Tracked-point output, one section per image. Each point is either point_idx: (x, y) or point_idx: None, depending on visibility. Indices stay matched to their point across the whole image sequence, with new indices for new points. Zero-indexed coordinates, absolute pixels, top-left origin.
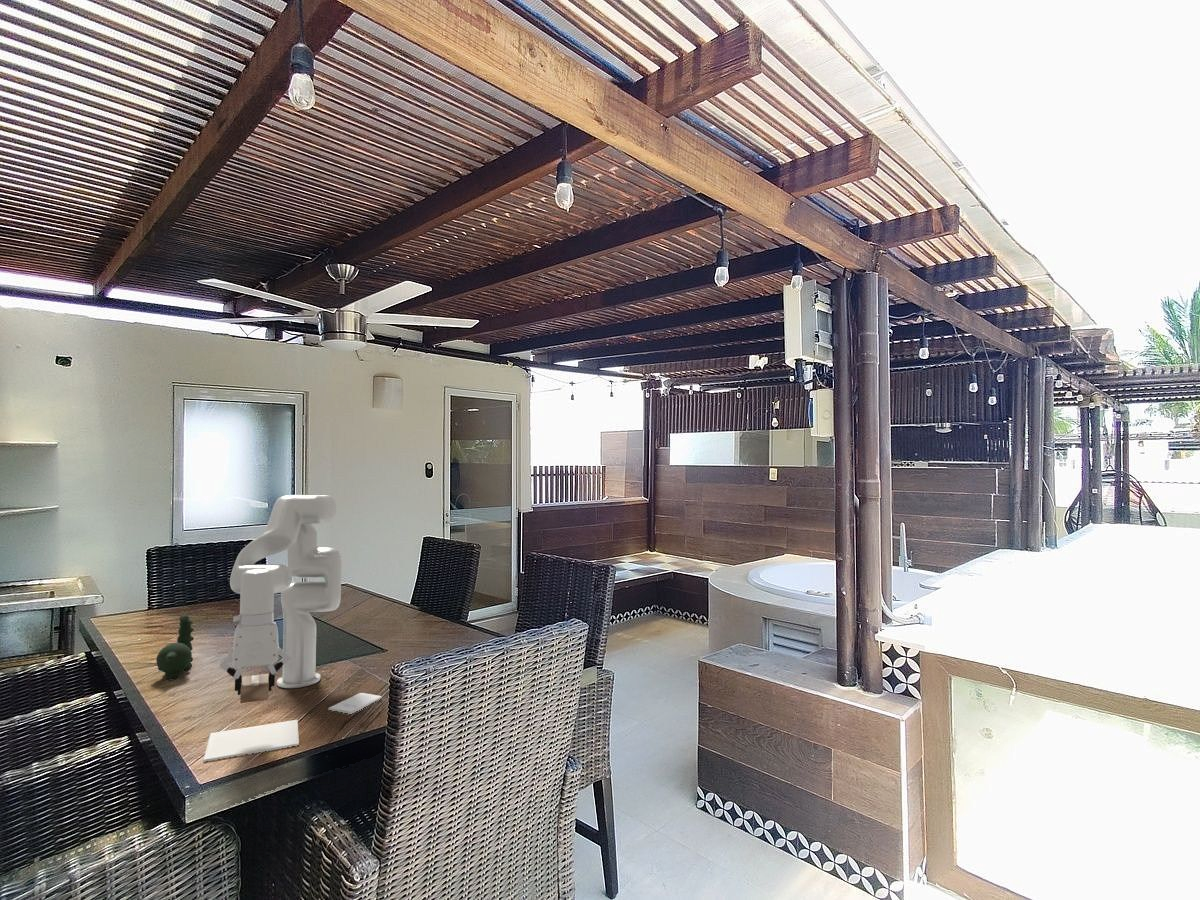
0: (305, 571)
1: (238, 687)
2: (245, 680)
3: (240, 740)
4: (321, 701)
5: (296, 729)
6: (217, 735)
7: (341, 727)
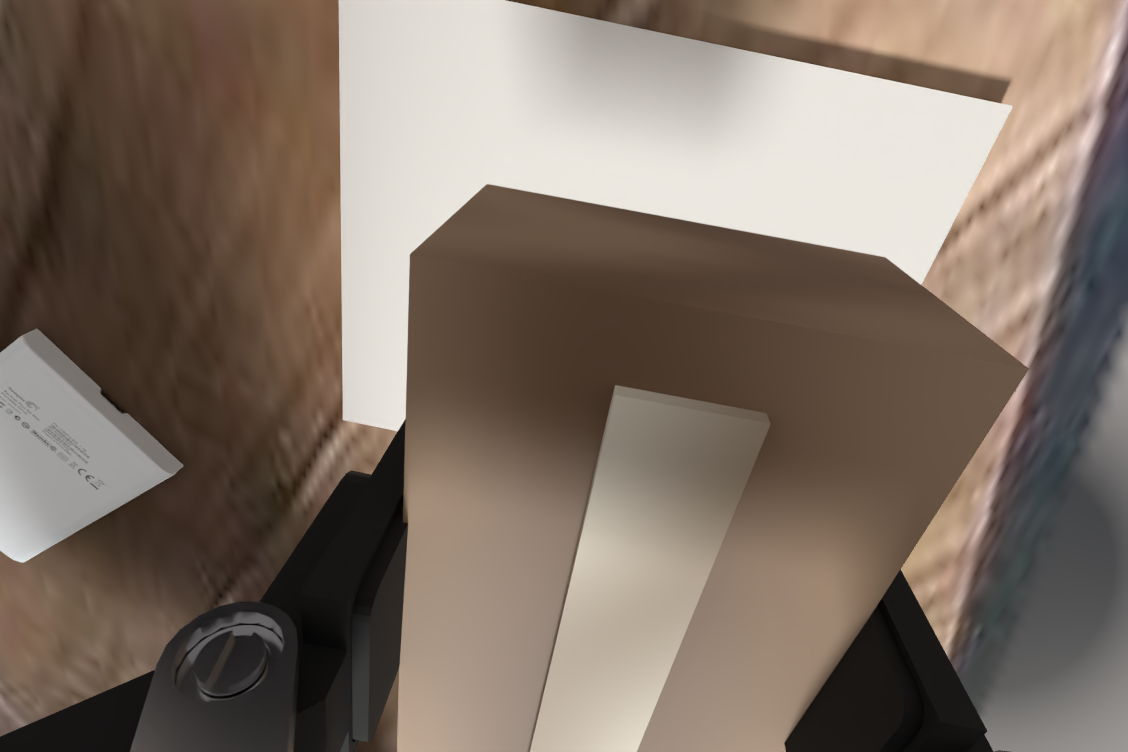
0: None
1: (898, 576)
2: (738, 724)
3: None
4: (230, 588)
5: (351, 267)
6: None
7: (64, 150)
